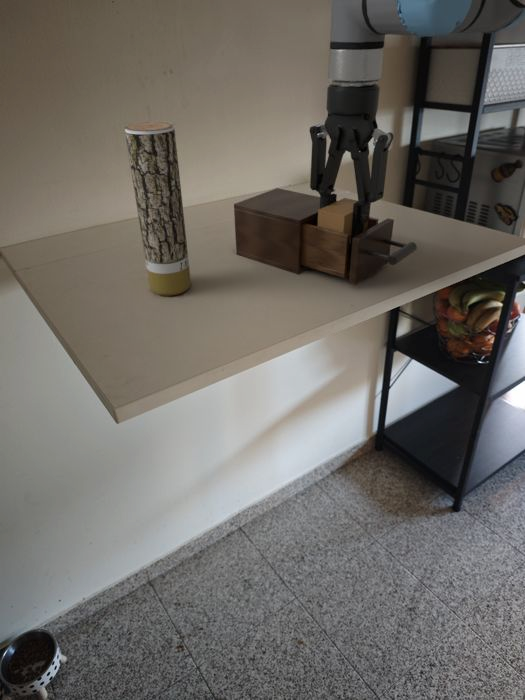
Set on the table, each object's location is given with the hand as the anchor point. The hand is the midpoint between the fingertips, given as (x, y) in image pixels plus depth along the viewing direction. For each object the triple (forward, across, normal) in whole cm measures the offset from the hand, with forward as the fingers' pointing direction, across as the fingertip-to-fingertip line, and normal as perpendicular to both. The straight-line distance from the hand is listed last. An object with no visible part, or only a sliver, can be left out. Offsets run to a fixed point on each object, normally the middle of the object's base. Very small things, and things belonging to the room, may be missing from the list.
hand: (342, 236), depth 85 cm
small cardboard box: (0, 0, 0) cm, 0 cm away
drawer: (+5, -2, 0) cm, 6 cm away
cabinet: (+6, +12, 0) cm, 13 cm away
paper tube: (+6, +18, +24) cm, 30 cm away
